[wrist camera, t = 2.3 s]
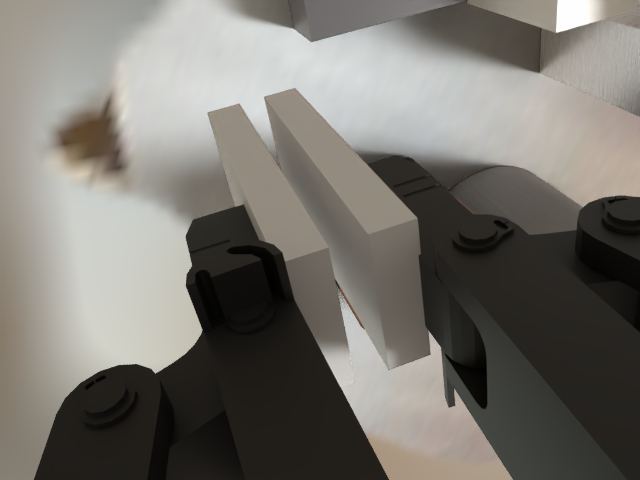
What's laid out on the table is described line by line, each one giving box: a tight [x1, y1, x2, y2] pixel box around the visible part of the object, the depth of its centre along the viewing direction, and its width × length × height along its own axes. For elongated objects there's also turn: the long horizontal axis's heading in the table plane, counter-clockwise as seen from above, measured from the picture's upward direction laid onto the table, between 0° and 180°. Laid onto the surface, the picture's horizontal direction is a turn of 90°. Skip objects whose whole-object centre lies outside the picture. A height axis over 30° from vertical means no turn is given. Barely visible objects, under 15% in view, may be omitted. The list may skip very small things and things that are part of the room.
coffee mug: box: [449, 166, 583, 235], centre depth 36 cm, size 13×10×10 cm
